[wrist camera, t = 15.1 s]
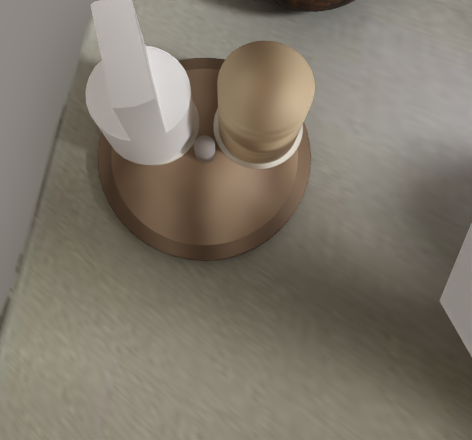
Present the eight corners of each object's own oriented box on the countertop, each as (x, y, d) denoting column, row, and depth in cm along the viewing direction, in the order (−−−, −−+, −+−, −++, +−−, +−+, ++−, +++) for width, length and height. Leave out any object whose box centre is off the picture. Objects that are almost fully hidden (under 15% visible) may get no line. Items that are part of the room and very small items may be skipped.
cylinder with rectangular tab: (97, 91, 43) (48, 9, 31) (184, 72, 43) (169, -15, 32) (114, 174, 41) (69, 120, 29) (204, 153, 42) (197, 92, 30)
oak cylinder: (297, 90, 43) (314, 42, 35) (298, 165, 42) (315, 131, 34) (219, 88, 43) (218, 39, 35) (217, 162, 41) (215, 128, 34)
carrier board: (307, 68, 45) (313, 49, 42) (309, 263, 41) (317, 259, 38) (110, 60, 45) (101, 41, 42) (92, 257, 41) (80, 253, 37)
